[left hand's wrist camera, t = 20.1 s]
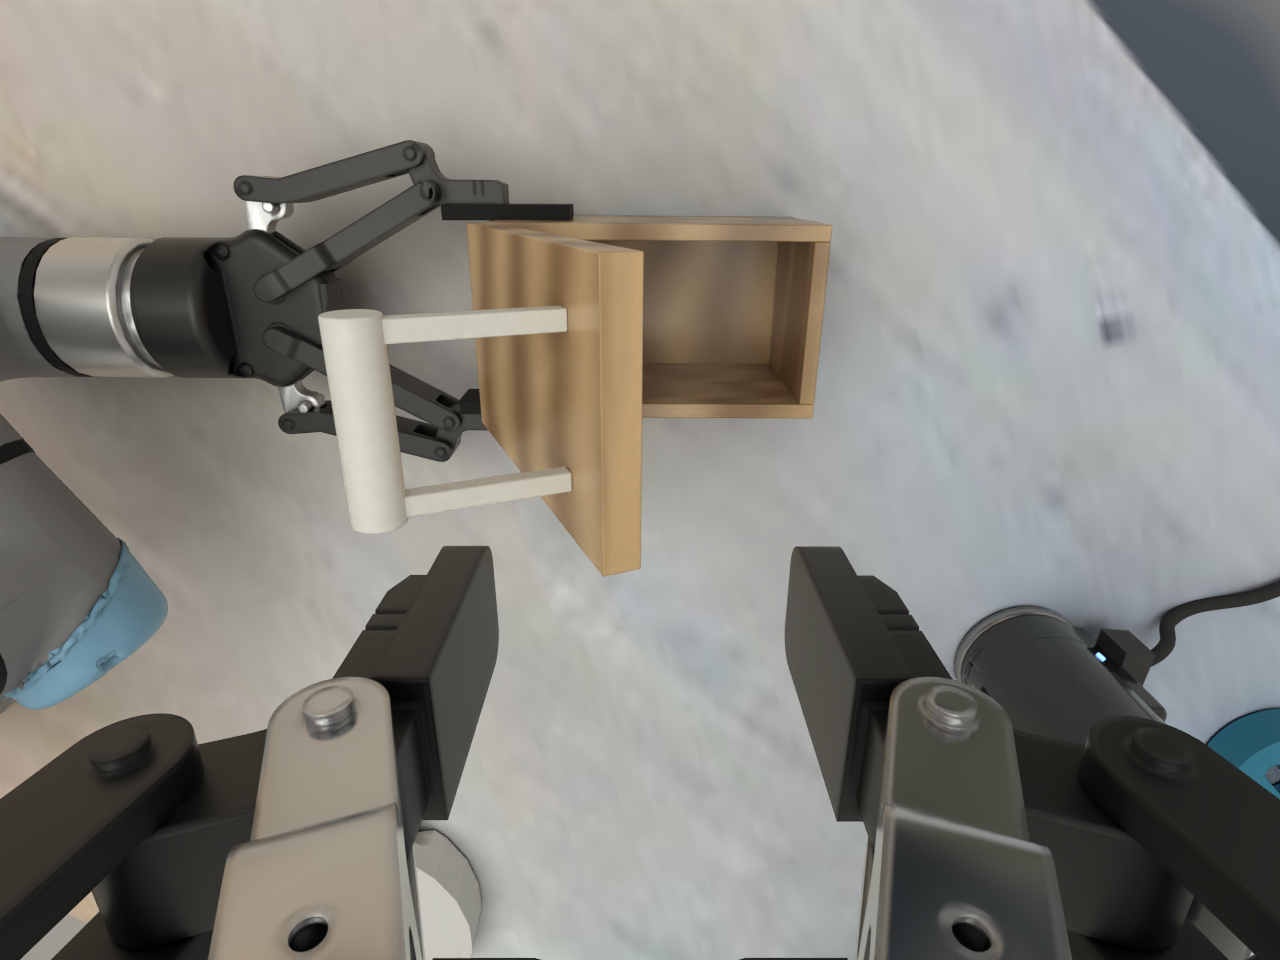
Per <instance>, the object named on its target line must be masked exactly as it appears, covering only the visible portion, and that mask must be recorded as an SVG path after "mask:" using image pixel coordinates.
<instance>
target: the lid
mask: <svg viewBox="0 0 1280 960" xmlns="http://www.w3.org/2000/svg"><path fill="white" fill-rule="evenodd" d="M466 225H467V237H468V250H469V263H470V276H471V289H472V301H473V310H472V311H454V312H436V313H419V314H401V315H383V313H382V312H380V311H377V310H371V309H346V310H336V311H329V312H325V313H322V314H320V315H319V316H318V321H319V327H320V334H321V340H322V346H323V352H324V359H325V365H326V371H327V378H328V384H329V390H330V396H331V403H332V409H333V415H334V422H335V428H336V434H337V440H338V447H339V453H340V459H341V466H342V472H343V478H344V484H345V491H346V497H347V503H348V510H349V516H350V522H351V527H352V528H353V529H354V530H355V531H357V532H360V533H366V534H378V533H385V532H389V531H393V530H395V529H398V528H400V527H402V526H403V525H405V524H406V522H407V521H408V517H413V516H419V515H425V514H432V513H438V512H444V511H450V510H457V509H463V508H469V507H475V506H482V505H488V504H494V503H501V502H507V501H513V500H519V499H526V498H532V497H538V496H540V497H541V498H542V499H543V500H544V502H545V503H546V504H547V505H548V507H549V508H550V509H551V511H552V512H553V513H554V514H555V516H556V517H557V518H558V519H559V521H560V522H561V523H562V525H563V526H564V527H565V528H566V530H567V531H568V532H569V534H570V535H571V536H572V537H573V539H574V540H575V541H576V542H577V544H578V545H579V546H580V548H581V549H582V550H583V551H584V553H585V554H586V555H587V556H588V558H589V559H590V560H591V562H592V563H593V564H594V565H595V567H596V568H597V569H598V571H599V572H600V573H601V574H602V576H609V575H613V574H618V573H623V572H628V571H632V570H637V569H640V568H641V474H642V366H643V258H644V253H643V251H639V250H634V249H629V248H623V247H618V246H613V245H608V244H602V243H597V242H592V241H586V240H581V239H576V238H571V237H565V236H560V235H555V234H550V233H544V232H539V231H534V230H528V229H523V228H518V227H513V226H507V225H502V224H497V223H467V224H466ZM469 338H475V340H476V352H477V365H478V378H479V391H480V403H481V416H482V423H483V424H484V425H485V426H486V428H487V429H488V430H489V431H490V433H491V434H492V435H493V437H494V438H495V439H496V440H497V442H498V443H499V444H500V445H501V447H502V448H503V449H504V451H505V452H506V453H507V454H508V456H509V457H510V458H511V460H512V461H513V462H514V463H515V465H516V466H517V467H518V468H519V470H520V471H521V472H522V473H516V474H509V475H503V476H496V477H489V478H482V479H475V480H468V481H461V482H454V483H447V484H441V485H434V486H427V487H420V488H413V489H406V490H405V486H404V478H403V470H402V462H401V454H400V446H399V438H398V430H397V422H396V414H395V406H394V398H393V390H392V382H391V374H390V366H389V358H388V350H387V344H399V343H413V342H427V341H441V340H455V339H469Z"/></svg>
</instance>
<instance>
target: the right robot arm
mask: <svg viewBox="0 0 1280 960" xmlns="http://www.w3.org/2000/svg"><path fill="white" fill-rule="evenodd" d="M408 173H409V174H410V177H411V179H412V181H413V183H414V185H413V186H412V187H410V188H409V189H407V190H405V191H404V192H402V193H401V194H399V195H397V196H396V197H394V198H393V199H391V200H389V201H388V202H386V203H385V204H383V205H381V206H380V207H378V208H377V209H375V210H373V211H372V212H370V213H369V214H367V215H365V216H364V217H362V218H361V219H359V220H357V221H356V222H354V223H353V224H351V225H349V226H348V227H346V228H345V229H343V230H341V231H340V232H338V233H337V234H335V235H333V236H332V237H330V238H329V239H327V240H325V241H324V242H322V243H320V244H317V245H315V246H313V247H311V248H310V249H308V250H306V251H305V250H303V249H302V248H301V247H299V246H298V245H296V244H295V243H293V242H292V241H290V240H289V239H287V238H286V237H284V236H283V235H281V234H280V233H278V232H277V231H275V226H276V224H277V222H278V221H279V220H281V219H284V218H288V217H290V216H291V215H292V213H293V210H294V206H293V203H303V202H311V201H315V200H319V199H323V198H326V197H329V196H333V195H336V194H340V193H343V192H346V191H350V190H353V189H357V188H360V187H363V186H367V185H370V184H374V183H377V182H380V181H384V180H387V179H391V178H394V177H397V176H401V175H404V174H408ZM234 190H235V193H236V194H237V196H238V197H239V198H241V199H242V200H245V201H246V210H247V220H248V229H249V230H247V231H245V232H243V233H242V234H241V235H239V236H237V237H235V238H160V239H157V240H152V239H149V238H138V237H69V238H54V239H45V238H12V237H0V382H1V381H4V380H9V379H15V378H24V377H63V376H82V377H139V378H167V377H171V376H174V375H175V376H178V377H183V378H257V379H261V380H264V381H266V382H268V383H270V384H272V385H274V386H278V390H279V393H280V397H281V401H282V404H283V408H284V411H285V414H283V415H282V416H281V417H280V418H279V420H278V424H279V427H280V429H281V430H282V431H283V432H285V433H287V434H298V433H311V432H323V433H327V434H331V435H335V436H337V434H336V428H335V422H334V415H333V409H332V403H331V401H325V398H324V396H323V395H322V394H320V393H318V392H315V391H310V390H308V389H306V388H305V387H304V386H303V384H302V382H301V380H302V379H304V378H305V377H306V376H307V375H309V374H310V373H311V372H312V371H314V370H316V371H318V372H320V373H322V374H324V375H326V376H327V371H326V365H325V359H324V352H323V346H322V340H321V334H320V327H319V321H318V316H319V315H320V314H322V313H325V312H329V311H336V310H342V309H341V300H342V287H341V281H340V279H336V277H335V275H334V272H335V271H337V270H339V269H340V268H342V267H343V266H345V265H347V264H348V263H350V262H351V261H353V259H355V258H356V257H358V256H360V255H361V254H363V253H364V252H366V251H368V250H369V249H371V248H373V247H374V246H376V245H377V244H379V243H381V242H382V241H384V240H386V239H387V238H389V237H390V236H392V235H394V234H395V233H397V232H399V231H400V230H402V229H404V228H405V227H407V226H408V225H410V224H412V223H413V222H415V221H417V220H418V219H420V218H421V217H423V216H425V215H426V214H428V213H430V212H431V211H433V210H434V209H436V208H438V207H439V206H441V211H442V220H571V219H573V218H574V216H573V204H509V193H508V184H505V183H503V182H501V181H498V180H450V179H448V178H446V177H445V176H443V174H442V173H441V172H440V170H439V168H438V165H437V163H436V161H435V154H434V151H433V149H432V148H431V147H430V146H429V145H427V144H425V143H420V142H416V141H411V140H409V141H403V142H400V143H397V144H393V145H390V146H386V147H383V148H380V149H376V150H373V151H370V152H366V153H363V154H360V155H356V156H353V157H350V158H346V159H343V160H340V161H336V162H333V163H329V164H326V165H323V166H319V167H316V168H313V169H309V170H306V171H303V172H299V173H296V174H293V175H289V176H286V177H283V178H280V177H269V176H245V175H244V176H239V177H238V178H236V180H235V181H234ZM389 366H390V374H391V382H392V390H393V398H394V406H396V407H398V408H400V409H402V410H404V411H406V412H408V413H410V414H412V415H414V416H416V417H418V418H420V419H422V420H424V421H426V422H428V423H430V424H428V423H424V422H420V421H416V420H412V419H408V418H404V417H400V416H397V415H396V422H397V430H398V438H399V446H400V452H403V453H407V454H411V455H415V456H419V457H423V458H427V459H431V460H435V461H439V462H444V461H447V460H448V459H449V458H450V457H451V456H452V454H453V453H454V451H455V450H456V448H457V447H458V446H459V444H460V441H461V435H462V432H463V431H466V430H488V429H487V428H486V426H485V425H484V424H483V423H482V416H481V403H480V391H479V389H469V390H468V391H467V392H466V393H465V394H464V396H463V397H462V398H461V399H460V400H458V399H456V398H454V397H452V396H450V395H448V394H447V393H445V392H443V391H441V390H439V389H437V388H435V387H433V386H431V385H429V384H427V383H425V382H423V381H421V380H419V379H417V378H415V377H413V376H411V375H409V374H407V373H406V372H404V371H402V370H400V369H398V368H396V367H394V366H392V365H390V364H389ZM34 452H35V451H33V449H32V448H31V447H30V446H29V445H28V444H27V443H26V442H25V441H24V439H23V438H22V437H21V436H20V434H19V433H18V432H17V431H16V430H15V429H14V428H13V427H12V426H11V425H10V424H9V422H8V421H7V420H6V419H5V418H4V417H3V416H2V415H1V414H0V713H2V712H3V711H4V710H6V709H7V708H8V707H9V706H10V705H12V704H13V703H14V702H15V701H17V702H18V703H19V704H21V705H22V706H24V707H26V708H29V709H44V708H48V707H51V706H53V705H56V704H58V703H60V702H62V701H64V700H66V699H68V698H69V697H71V696H73V695H74V694H76V693H78V692H79V691H81V690H82V689H84V688H85V687H87V686H89V685H90V684H92V683H93V682H95V681H96V680H97V679H99V678H100V677H102V676H103V675H105V674H106V673H107V672H108V671H109V670H110V669H111V668H112V667H114V666H115V665H117V664H118V663H119V662H121V661H122V660H124V659H126V658H127V657H129V656H130V655H131V654H132V653H134V652H135V651H136V650H137V649H138V648H140V647H141V646H142V645H143V644H144V643H145V642H146V641H148V640H149V639H150V638H151V637H152V636H153V635H154V634H155V633H156V632H157V630H158V629H159V628H160V627H161V625H162V624H163V622H164V621H165V618H166V616H167V611H168V603H167V600H166V597H165V596H164V594H163V593H162V591H161V590H160V589H159V588H158V587H157V586H156V584H155V583H154V582H153V581H152V579H151V578H150V577H149V575H148V574H147V573H146V572H145V570H144V569H143V568H142V567H141V565H140V564H139V563H138V561H137V560H136V559H135V558H134V556H133V555H132V554H131V553H130V551H129V548H128V547H127V545H126V543H125V542H124V541H122V540H121V539H119V538H116V537H115V536H114V535H113V534H112V533H111V532H110V531H109V530H108V529H107V528H106V527H105V526H104V525H103V524H102V522H101V521H100V520H99V519H98V518H97V517H96V516H95V515H94V514H93V513H92V512H91V511H90V510H89V509H88V508H87V507H86V506H85V505H84V504H83V503H82V502H81V501H80V500H79V499H78V498H77V497H76V496H75V495H74V493H73V492H72V491H71V490H70V489H69V488H68V487H67V486H66V485H65V484H64V483H63V482H62V481H61V480H60V479H59V478H58V477H57V476H56V475H55V474H54V473H53V472H52V471H51V470H50V469H49V468H48V467H47V466H46V465H45V463H44V462H43V461H42V460H41V459H40V458H39V457H38V456H37V455H36V454H35V453H34Z"/></svg>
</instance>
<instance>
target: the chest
mask: <svg viewBox="0 0 1280 960" xmlns="http://www.w3.org/2000/svg"><path fill="white" fill-rule="evenodd" d="M573 216H574V218H573V219H571V220H492V221H488V222H484V223H497V224H502V225H507V226H513V227H518V228H523V229H528V230H534V231H539V232H544V233H550V234H555V235H560V236H565V237H571V238H576V239H581V240H586V241H592V242H597V243H602V244H608V245H613V246H618V247H623V248H629V249H634V250H639V251H643V253H644V258H643V366H642V417H660V418H812V417H813V408H814V405H813V404H814V399H815V389H816V379H817V369H818V359H819V350H820V340H821V330H822V320H823V311H824V301H825V291H826V281H827V272H828V262H829V252H830V241H831V233H832V225H828V224H823V223H818V222H812V221H807V220H802V219H796V218H793V217H732V216H611V215H573Z"/></svg>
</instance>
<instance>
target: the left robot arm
mask: <svg viewBox="0 0 1280 960" xmlns="http://www.w3.org/2000/svg"><path fill="white" fill-rule="evenodd" d="M1279 596H1280V581H1279V582H1277V583H1274V584H1272V585H1269V586H1266V587H1264V588H1261V589H1258V590H1254V591H1251V592H1246V593H1242V594H1236V595H1229V596H1222V597H1214V598H1207V599H1201V600H1196V601H1192V602H1189V603H1186V604H1183V605H1180V606H1178V607H1176V608H1174V609H1172V610H1171V611H1170V612H1168V613H1167V614H1166V615H1165V616H1164V617H1163V618H1162V619H1161V622H1160V627H1159V631H1160V641H1159V643H1158V644H1157V645H1156V646H1155V647H1154V648H1153V649H1152V650H1149V649H1148V648H1147V647H1146V646H1145V645H1144V644H1143V643H1142V642H1141V641H1139V640H1138V639H1137V638H1136V637H1135V636H1134V635H1133V634H1132V633H1130V632H1129V631H1125V630H1110V629H1101V631H1100V634H1099V637H1098V639H1097V641H1096V640H1095V639H1094V638H1093V637H1092V636H1091V635H1090V634H1088V633H1087V632H1086V631H1085V630H1084V629H1083V628H1078V627H1072V626H1071V625H1070V624H1069V623H1068V622H1067V621H1066V620H1065V619H1064V618H1063V617H1062V616H1060V615H1059V614H1057V613H1055V612H1053V611H1051V610H1048V609H1045V608H1040V607H1032V606H1025V607H1015V608H1010V609H1007V610H1003V611H1000V612H998V613H995V614H993V615H991V616H989V617H988V618H986V619H984V620H983V621H981V622H980V623H979V624H977V625H976V626H975V627H974V628H973V629H972V630H971V631H970V632H969V633H968V634H967V635H966V637H965V638H964V639H963V641H962V643H961V644H960V646H959V648H958V651H957V654H956V657H955V664H954V670H955V676H956V679H957V681H955V680H953V679H952V678H951V676H950V675H949V673H948V671H947V670H946V668H945V667H944V665H943V664H942V662H941V661H940V659H939V657H938V656H937V654H936V653H935V651H934V650H933V648H932V647H931V645H930V643H929V642H928V640H927V639H926V637H925V636H924V634H923V632H922V631H919V626H918V625H917V623H916V622H915V620H914V618H913V617H912V615H909V611H908V609H907V608H906V606H905V604H904V603H903V601H902V600H901V598H900V597H899V595H898V593H897V592H896V591H894V590H893V589H892V588H890V587H889V586H887V585H886V584H884V583H883V582H882V581H880V580H879V579H877V578H876V577H875V576H857V574H856V573H855V571H854V569H853V567H852V566H851V564H850V562H849V560H848V559H847V557H846V555H845V553H844V552H843V550H842V548H841V547H795V548H794V549H793V552H792V557H791V565H790V576H789V588H788V599H787V610H786V622H785V649H786V657H787V663H788V666H789V670H790V673H791V676H792V679H793V682H794V686H795V689H796V692H797V695H798V698H799V702H800V705H801V708H802V711H803V714H804V718H805V721H806V724H807V727H808V730H809V734H810V737H811V740H812V743H813V746H814V749H815V753H816V756H817V759H818V762H819V765H820V769H821V772H822V775H823V778H824V781H825V785H826V788H827V791H828V794H829V797H830V801H831V804H832V807H833V810H834V813H835V817H836V820H837V821H863V822H864V825H865V828H866V831H867V834H868V841H867V848H866V854H865V860H864V870H863V880H862V890H861V900H860V910H859V920H858V930H857V941H856V951H855V960H1280V799H1279V798H1277V797H1276V796H1275V795H1273V794H1272V793H1271V792H1269V791H1268V790H1267V789H1265V788H1264V787H1263V786H1261V785H1260V784H1258V783H1257V782H1256V781H1254V780H1253V779H1252V778H1250V777H1249V776H1248V775H1246V774H1245V773H1244V772H1242V771H1241V770H1240V769H1238V768H1237V767H1236V766H1234V765H1233V764H1231V763H1230V762H1229V761H1227V760H1226V759H1225V758H1223V757H1222V756H1221V755H1219V754H1218V753H1217V752H1215V751H1214V750H1213V749H1211V748H1210V747H1208V746H1207V745H1205V744H1204V743H1203V742H1201V741H1200V740H1198V739H1196V738H1194V737H1193V736H1191V735H1189V734H1187V733H1185V732H1183V731H1181V730H1179V729H1177V728H1174V727H1172V726H1169V725H1167V724H1166V723H1165V720H1166V717H1167V713H1166V710H1165V709H1164V708H1163V706H1162V705H1161V704H1160V703H1159V702H1158V701H1157V700H1156V699H1155V698H1154V697H1153V696H1152V695H1151V694H1150V693H1148V692H1147V691H1146V690H1145V689H1144V688H1143V687H1142V686H1143V683H1144V681H1145V679H1146V676H1147V674H1148V671H1149V669H1150V667H1151V666H1153V665H1155V664H1157V663H1159V662H1161V661H1162V660H1163V659H1165V658H1166V657H1167V656H1168V655H1169V654H1170V653H1171V651H1172V650H1173V648H1174V646H1175V640H1176V637H1175V626H1176V625H1177V624H1178V623H1179V622H1180V621H1182V620H1183V619H1185V618H1187V617H1189V616H1191V615H1194V614H1197V613H1200V612H1205V611H1211V610H1218V609H1226V608H1234V607H1241V606H1247V605H1252V604H1257V603H1261V602H1264V601H1267V600H1271V599H1273V598H1276V597H1279ZM498 641H499V628H498V615H497V604H496V592H495V581H494V569H493V558H492V553H491V550H490V548H489V546H444V547H443V548H442V549H441V551H440V553H439V554H438V556H437V558H436V560H435V562H434V563H433V565H432V567H431V569H430V571H429V572H428V574H427V575H410V576H408V577H407V578H406V579H404V580H403V581H401V582H400V583H399V584H397V585H396V586H394V587H393V588H392V589H390V590H389V591H387V593H386V595H385V596H384V598H383V599H382V601H381V603H380V604H379V606H378V607H377V609H376V613H375V614H373V615H372V617H371V618H370V620H369V622H368V623H367V625H366V629H365V630H363V631H362V633H361V634H360V636H359V637H358V639H357V641H356V642H355V644H354V645H353V647H352V648H351V650H350V652H349V653H348V655H347V656H346V658H345V660H344V661H343V663H342V664H341V666H340V667H339V669H338V671H337V672H336V674H335V675H334V677H333V679H329V680H325V681H321V682H319V683H316V684H313V685H310V686H308V687H306V688H304V689H302V690H300V691H298V692H297V693H295V694H293V695H292V696H290V697H289V698H288V699H286V700H285V701H284V702H283V703H282V704H281V705H280V706H279V707H278V708H277V709H276V710H275V711H274V713H273V714H272V716H271V718H270V720H269V724H268V728H267V729H265V730H262V731H258V732H254V733H250V734H246V735H241V736H236V737H232V738H227V739H222V740H218V741H213V742H208V743H204V744H199V745H198V743H197V740H196V737H195V733H194V730H193V727H192V725H191V724H190V723H189V722H188V721H187V720H186V719H184V718H182V717H180V716H177V715H173V714H148V715H141V716H137V717H132V718H129V719H125V720H122V721H119V722H116V723H114V724H111V725H108V726H106V727H104V728H102V729H100V730H97V731H95V732H94V733H92V734H90V735H88V736H86V737H85V738H83V739H82V740H80V741H79V742H77V743H76V744H74V745H73V746H72V747H70V748H69V749H67V750H66V751H65V752H63V753H62V754H61V755H59V756H58V757H57V758H55V759H54V760H53V761H51V762H50V763H49V764H47V765H46V766H45V767H43V768H42V769H40V770H39V771H38V772H36V773H35V774H34V775H32V776H31V777H30V778H28V779H27V780H26V781H24V782H23V783H22V784H20V785H19V786H18V787H16V788H15V789H13V790H12V791H11V792H9V793H8V794H7V795H5V796H4V797H3V798H1V799H0V960H20V959H21V958H22V957H23V956H24V955H25V954H26V953H27V952H28V951H29V950H30V949H31V948H32V947H33V946H34V945H36V944H37V943H38V942H39V941H40V940H41V939H42V938H43V937H44V936H45V935H46V934H47V933H48V932H49V931H50V930H51V929H52V928H53V927H54V926H55V925H56V924H57V923H59V922H60V921H61V920H62V919H63V918H64V917H65V916H66V915H67V914H68V913H69V912H70V911H71V910H72V909H73V908H74V907H75V906H76V905H77V904H78V903H79V902H80V901H81V900H82V899H84V898H85V897H86V896H87V895H88V894H89V893H90V892H91V891H92V893H93V896H94V898H95V901H96V903H97V906H98V908H99V911H100V912H99V913H98V914H97V915H96V916H95V917H93V918H92V919H91V920H90V921H89V922H88V923H87V924H86V925H85V926H84V927H83V928H82V929H81V931H80V932H78V934H76V935H75V937H73V938H72V939H71V940H70V941H69V942H68V943H67V944H66V945H65V946H64V947H63V948H62V949H61V950H60V951H59V952H58V953H57V954H56V955H55V956H54V957H53V958H52V959H51V960H425V951H424V941H423V930H422V920H421V910H420V900H419V890H418V880H417V870H416V860H415V854H414V848H413V844H414V841H415V839H416V836H417V833H418V830H419V827H420V824H421V821H422V820H448V818H449V815H450V811H451V808H452V805H453V802H454V798H455V795H456V792H457V788H458V785H459V782H460V779H461V775H462V772H463V769H464V766H465V762H466V759H467V756H468V753H469V749H470V746H471V743H472V739H473V736H474V733H475V730H476V726H477V723H478V720H479V717H480V713H481V710H482V707H483V703H484V700H485V697H486V694H487V690H488V687H489V684H490V681H491V677H492V674H493V671H494V667H495V664H496V659H497V653H498ZM1251 951H1252V952H1253V953H1254V955H1253V956H1251V957H1250V954H1251ZM432 960H540V959H536V958H433V959H432ZM740 960H848V959H847V958H744V959H740Z"/></svg>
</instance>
